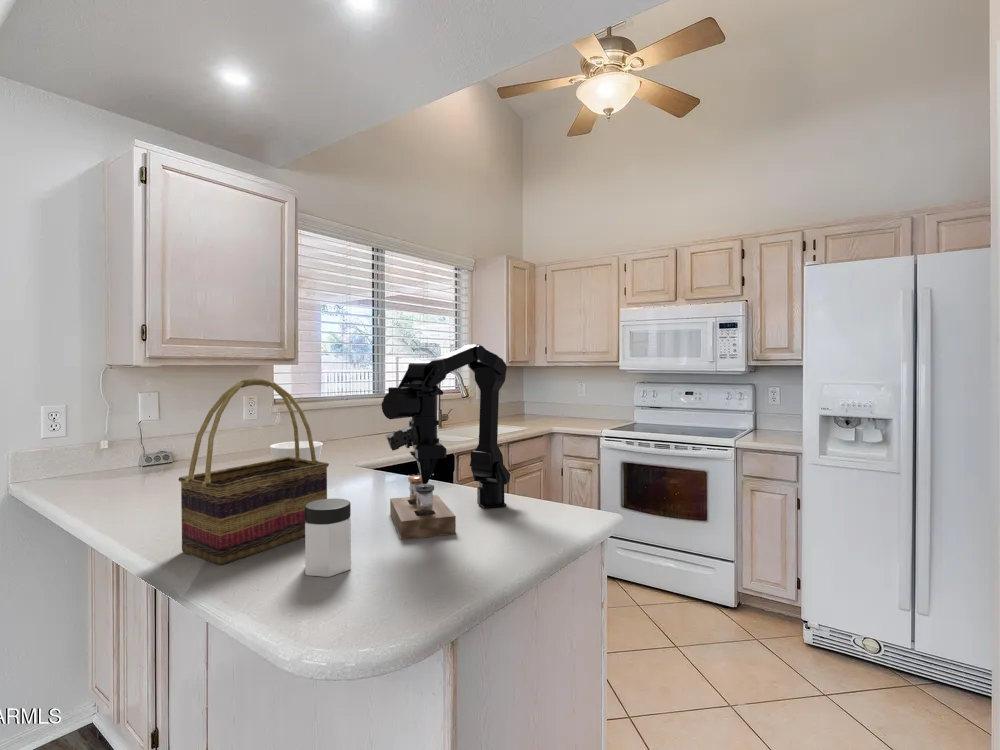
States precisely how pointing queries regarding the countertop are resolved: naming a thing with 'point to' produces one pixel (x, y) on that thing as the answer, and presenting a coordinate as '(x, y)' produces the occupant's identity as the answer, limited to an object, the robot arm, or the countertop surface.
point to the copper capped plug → (413, 482)
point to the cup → (289, 450)
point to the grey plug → (424, 499)
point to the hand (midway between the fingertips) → (424, 483)
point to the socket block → (421, 519)
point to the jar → (327, 537)
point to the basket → (248, 495)
